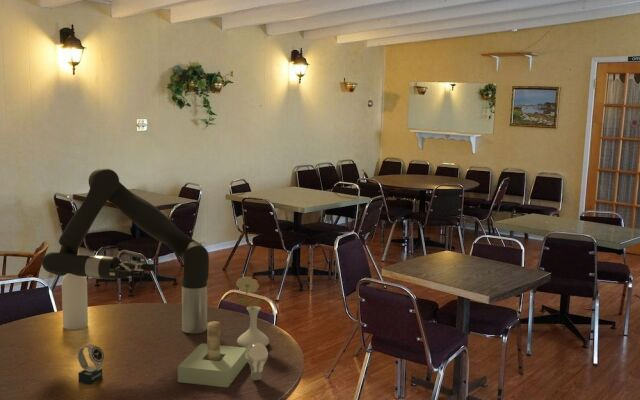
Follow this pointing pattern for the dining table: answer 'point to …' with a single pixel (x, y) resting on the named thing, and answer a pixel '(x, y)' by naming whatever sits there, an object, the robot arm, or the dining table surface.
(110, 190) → the robot arm
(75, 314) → the alcohol
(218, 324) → the peg
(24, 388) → the dining table surface
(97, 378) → the watch
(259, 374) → the light bulb
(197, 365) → the hole block
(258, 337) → the flower in vase
